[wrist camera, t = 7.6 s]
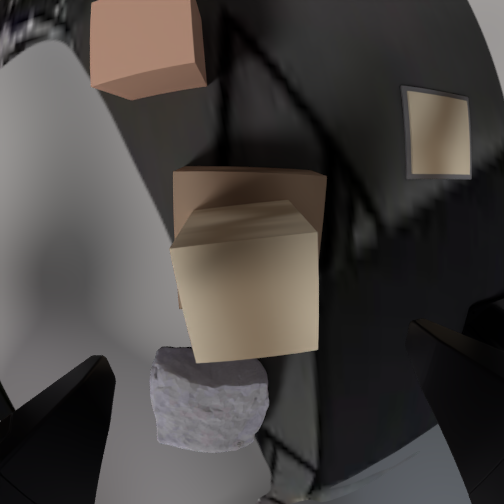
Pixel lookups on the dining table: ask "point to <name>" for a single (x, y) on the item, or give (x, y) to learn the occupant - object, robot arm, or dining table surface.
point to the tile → (436, 134)
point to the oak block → (248, 281)
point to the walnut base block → (247, 191)
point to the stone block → (207, 400)
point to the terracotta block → (146, 47)
